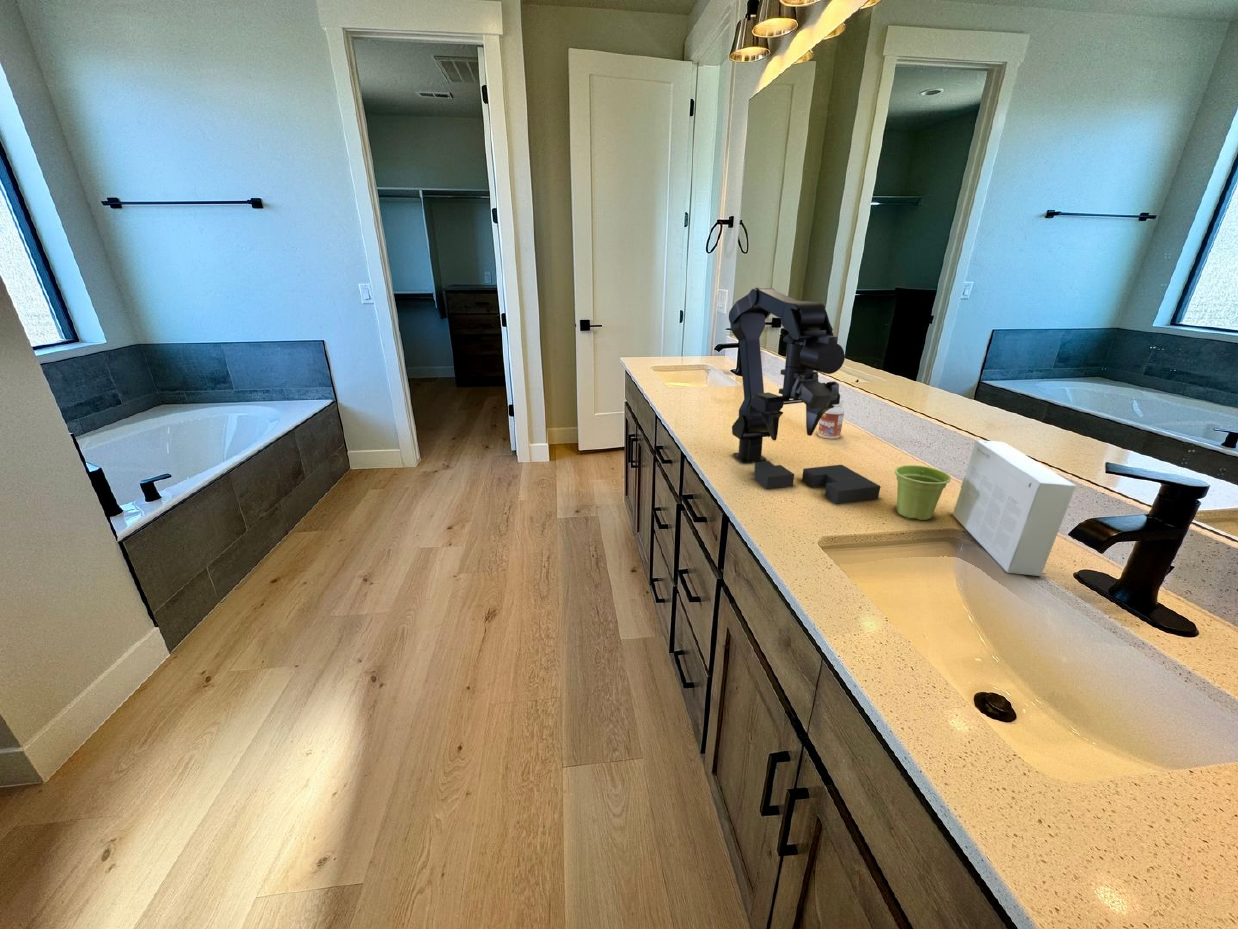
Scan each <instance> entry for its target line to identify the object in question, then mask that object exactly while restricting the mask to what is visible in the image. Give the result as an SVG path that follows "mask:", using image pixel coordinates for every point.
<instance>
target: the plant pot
mask: <svg viewBox="0 0 1238 929" xmlns="http://www.w3.org/2000/svg"><path fill="white" fill-rule="evenodd" d="M894 473H895V475H896V482H897V488H896V489H897V490H896V491H897V492H896V511H897V513H898V514H899V515H900V516H902V517H905V518H908V519H917V520H920V521H927V520H930V519H931V518H932V517H933V514H934V512H935V510H936V508H937V504H938V502H939V500H940V498H941V495H942V493H943V490H944V489H945V488H946V486H947V484H948V483H950V482H951V480H952V477H951V476H950V474H948V473H946V472H945V471H944V470H940V469H938V468H933V467H930V466H925V465H916V464H905V465H899V466H897V467H895V469H894Z"/></svg>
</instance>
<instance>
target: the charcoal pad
mask: <svg viewBox="0 0 1238 929" xmlns="http://www.w3.org/2000/svg"><path fill="white" fill-rule="evenodd" d="M801 481H802V482H804V483H805V484H806V485H808V486H809V487H811V489H813V488H820V487H825V489H824V497H825V498H827V499H829V500H830V501H831V502H833V503H835V505H840V504H849V503H856V502H857V503H858V502H865V501H872V500H878V499H879V497H880V491H881V485H879V484H877V483H876V482H874V481H872V480H870V479H869V478H867V477H865V476H863V475H861V474H859V473H858V472H856V471H854V470H852V469H851V468H849V467H847V466H845V465H844V464H834V465H833V464H832V465H826V466H825V465H824V466H815V467H806V468H803V469H802V475H801Z"/></svg>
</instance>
